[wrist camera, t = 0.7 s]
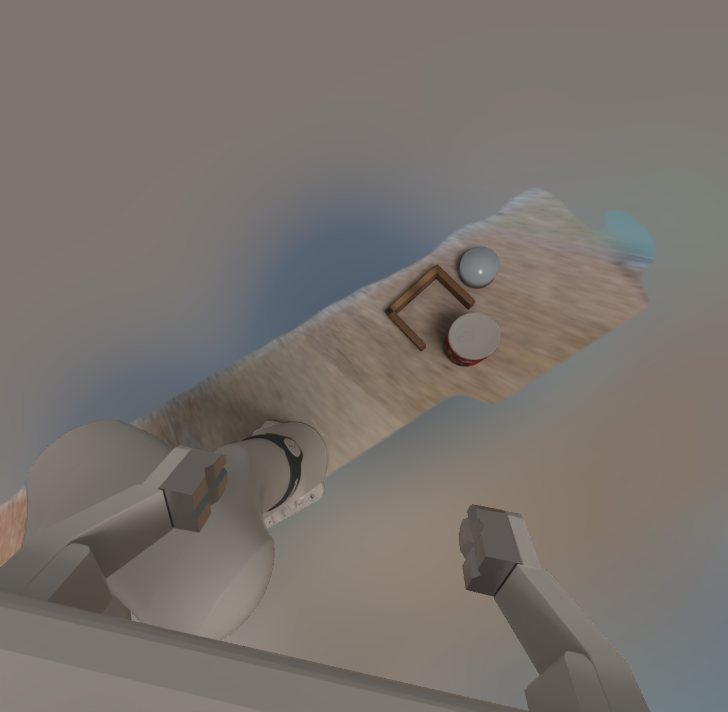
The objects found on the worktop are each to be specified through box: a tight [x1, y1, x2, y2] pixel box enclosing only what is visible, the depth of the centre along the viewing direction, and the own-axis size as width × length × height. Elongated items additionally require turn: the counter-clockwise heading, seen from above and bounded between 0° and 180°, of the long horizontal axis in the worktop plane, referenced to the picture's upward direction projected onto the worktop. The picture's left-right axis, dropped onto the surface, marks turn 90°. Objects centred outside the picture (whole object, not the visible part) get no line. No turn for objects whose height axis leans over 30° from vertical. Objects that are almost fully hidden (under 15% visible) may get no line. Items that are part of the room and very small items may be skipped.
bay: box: [385, 264, 475, 351], centre depth 61 cm, size 13×10×3 cm
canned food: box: [444, 312, 501, 366], centre depth 55 cm, size 8×8×11 cm
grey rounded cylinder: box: [459, 247, 500, 289], centre depth 60 cm, size 7×7×4 cm
